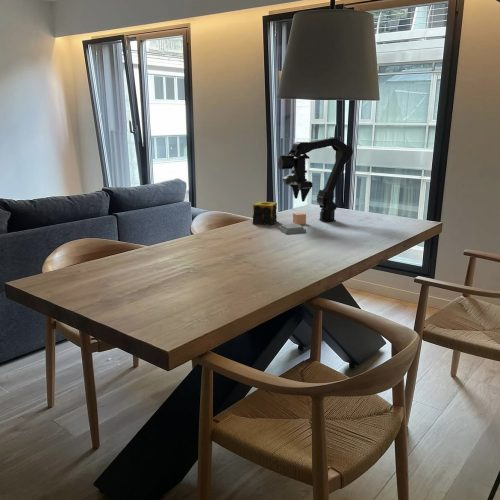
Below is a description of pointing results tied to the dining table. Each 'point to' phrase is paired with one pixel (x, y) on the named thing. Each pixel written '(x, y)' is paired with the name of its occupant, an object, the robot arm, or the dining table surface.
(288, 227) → the base
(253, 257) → the dining table surface
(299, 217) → the block
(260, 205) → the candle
